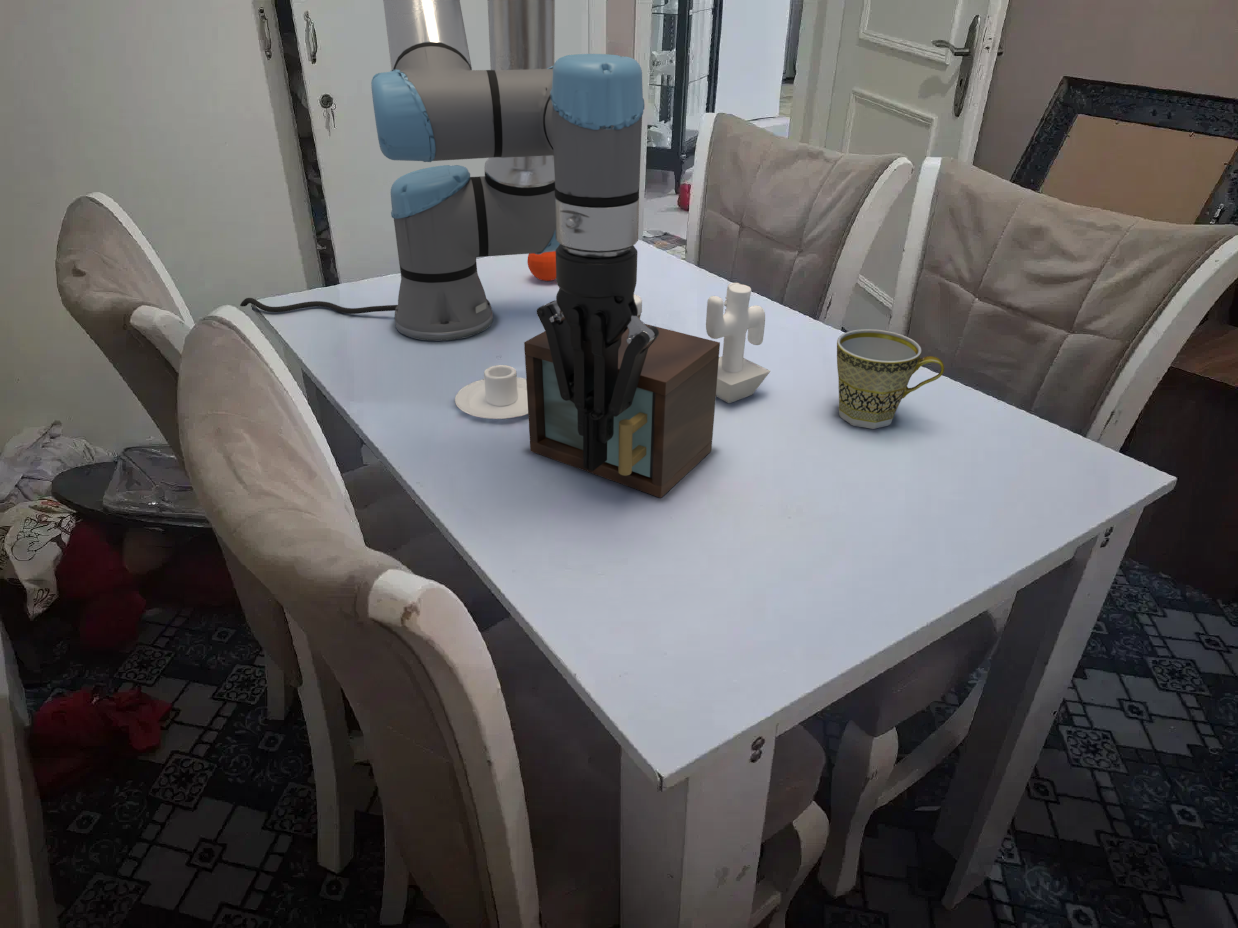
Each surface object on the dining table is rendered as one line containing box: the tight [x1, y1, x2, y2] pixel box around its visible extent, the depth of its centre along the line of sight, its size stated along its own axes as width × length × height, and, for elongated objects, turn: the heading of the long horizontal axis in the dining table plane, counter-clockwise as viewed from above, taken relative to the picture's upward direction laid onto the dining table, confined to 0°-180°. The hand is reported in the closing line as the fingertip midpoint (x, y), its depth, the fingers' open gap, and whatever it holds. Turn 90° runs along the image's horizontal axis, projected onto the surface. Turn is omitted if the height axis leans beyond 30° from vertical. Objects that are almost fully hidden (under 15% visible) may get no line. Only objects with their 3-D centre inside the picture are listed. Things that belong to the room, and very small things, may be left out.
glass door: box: [605, 388, 655, 478], centre depth 87 cm, size 8×5×10 cm, turn 57°
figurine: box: [705, 282, 771, 404], centre depth 106 cm, size 7×9×15 cm
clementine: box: [526, 251, 556, 282], centre depth 147 cm, size 8×7×7 cm
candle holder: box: [454, 364, 528, 420], centre depth 107 cm, size 12×12×4 cm
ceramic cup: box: [836, 328, 945, 430], centre depth 102 cm, size 13×10×10 cm
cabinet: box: [523, 323, 721, 499], centre depth 93 cm, size 18×12×14 cm, turn 57°
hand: (595, 463), depth 87 cm, fingers closed
